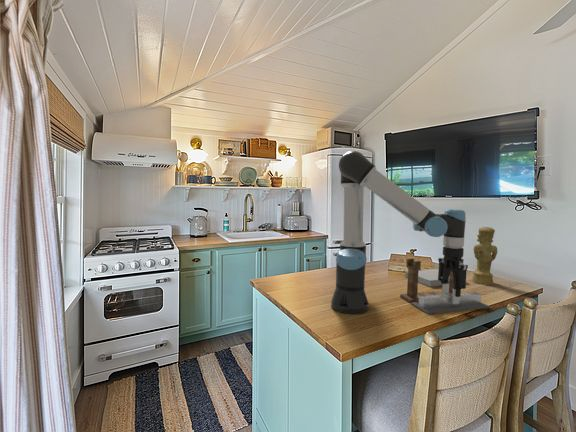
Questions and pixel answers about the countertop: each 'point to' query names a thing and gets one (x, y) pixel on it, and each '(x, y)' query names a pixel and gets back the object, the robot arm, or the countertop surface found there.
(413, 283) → the rack
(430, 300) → the rail
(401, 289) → the countertop surface
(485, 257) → the statue
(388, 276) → the countertop surface
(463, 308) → the mat
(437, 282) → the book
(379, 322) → the countertop surface
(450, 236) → the robot arm
